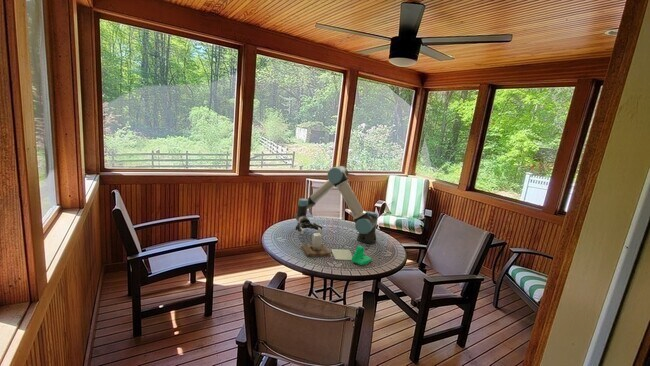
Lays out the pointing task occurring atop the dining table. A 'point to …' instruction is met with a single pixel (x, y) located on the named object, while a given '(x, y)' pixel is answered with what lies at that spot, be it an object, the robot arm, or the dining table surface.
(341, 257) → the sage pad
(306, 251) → the walnut socket
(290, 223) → the dining table surface
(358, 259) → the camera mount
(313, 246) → the aluminium post
